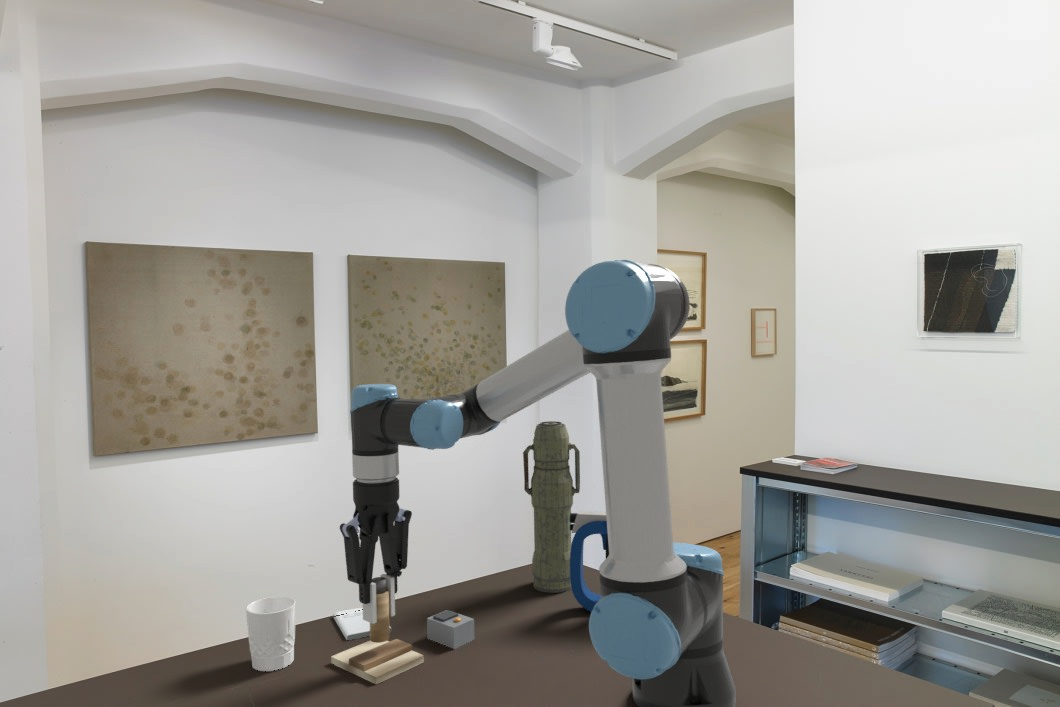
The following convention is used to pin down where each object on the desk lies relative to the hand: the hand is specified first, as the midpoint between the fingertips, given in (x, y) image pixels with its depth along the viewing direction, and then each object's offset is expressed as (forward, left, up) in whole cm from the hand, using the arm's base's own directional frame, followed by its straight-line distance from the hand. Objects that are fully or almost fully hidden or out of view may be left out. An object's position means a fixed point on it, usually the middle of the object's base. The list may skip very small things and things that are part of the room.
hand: (379, 617), depth 129 cm
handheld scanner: (-17, -43, -8) cm, 47 cm away
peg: (0, 0, -4) cm, 4 cm away
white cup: (+15, +11, -8) cm, 20 cm away
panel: (+1, 0, -8) cm, 8 cm away
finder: (-2, -14, -8) cm, 17 cm away
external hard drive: (+16, -9, -9) cm, 20 cm away
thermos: (+1, -47, -8) cm, 48 cm away
